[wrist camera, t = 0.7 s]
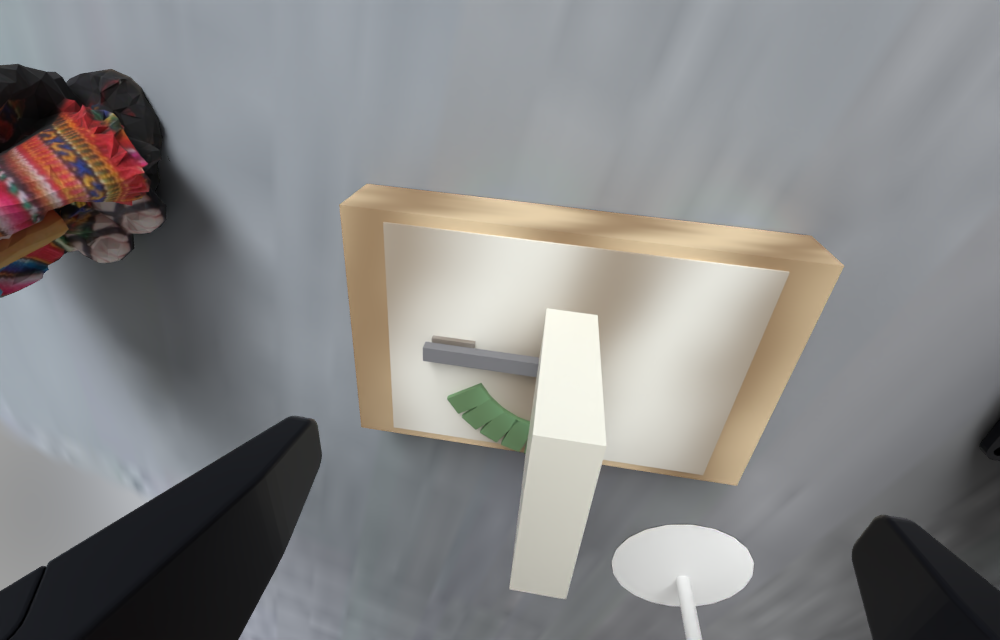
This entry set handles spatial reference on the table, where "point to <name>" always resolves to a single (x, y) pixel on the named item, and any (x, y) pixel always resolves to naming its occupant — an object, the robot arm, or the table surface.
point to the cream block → (551, 444)
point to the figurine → (73, 169)
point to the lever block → (584, 289)
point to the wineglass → (683, 568)
